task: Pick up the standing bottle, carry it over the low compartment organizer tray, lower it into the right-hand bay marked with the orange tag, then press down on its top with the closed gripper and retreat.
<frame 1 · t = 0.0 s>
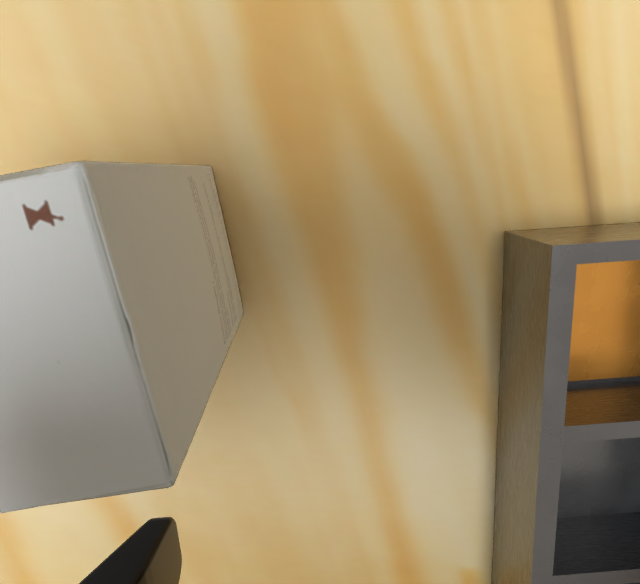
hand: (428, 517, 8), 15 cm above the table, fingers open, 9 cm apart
supplement box: (154, 256, 22), on the table
compartment organizer tray: (579, 450, 25), on the table
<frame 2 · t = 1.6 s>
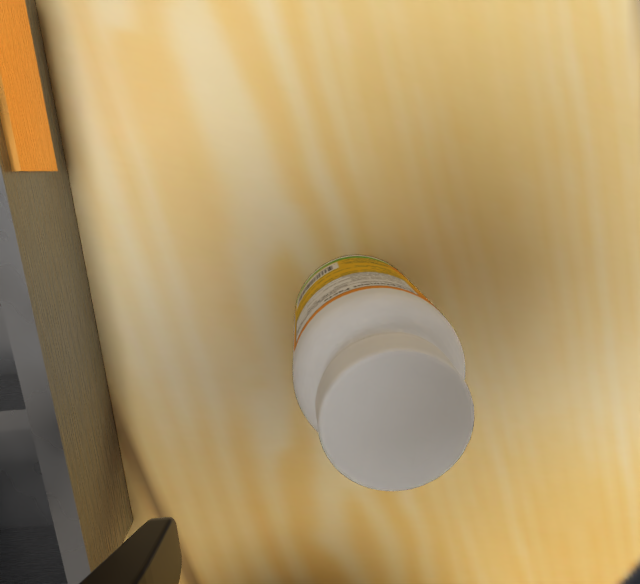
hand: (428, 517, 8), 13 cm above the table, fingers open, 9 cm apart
supplement bottle: (354, 310, 21), on the table
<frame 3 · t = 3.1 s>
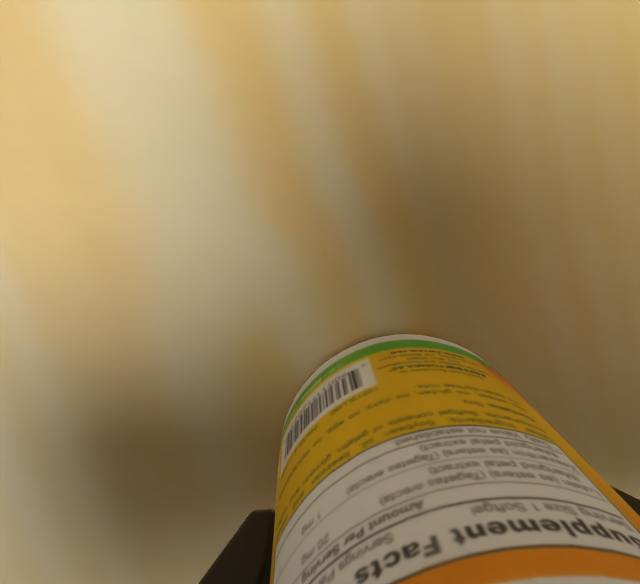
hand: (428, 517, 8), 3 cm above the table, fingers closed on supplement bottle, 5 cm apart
supplement bottle: (396, 433, 11), on the table, touching gripper
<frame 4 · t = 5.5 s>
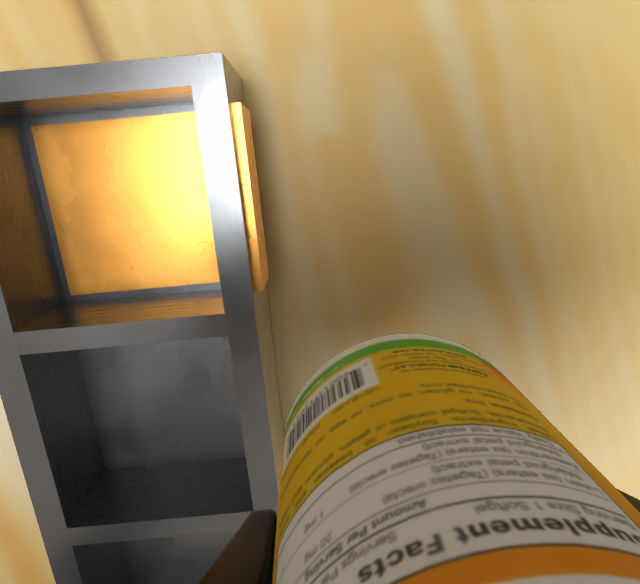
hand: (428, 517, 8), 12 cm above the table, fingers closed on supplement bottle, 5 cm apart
compartment organizer tray: (175, 383, 21), on the table
supplement bottle: (398, 433, 11), point 9 cm above the table, touching gripper
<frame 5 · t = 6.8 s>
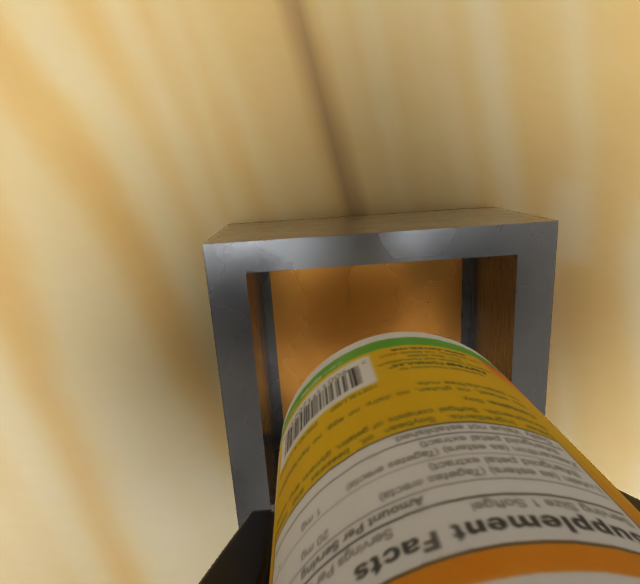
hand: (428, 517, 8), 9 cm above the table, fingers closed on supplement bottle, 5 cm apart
compartment organizer tray: (372, 514, 19), on the table
supplement bottle: (396, 431, 11), point 6 cm above the table, touching gripper
when the fingers open (5 cm above the table, at t = 7.9 s): supplement bottle drops 2 cm, resting on compartment organizer tray.
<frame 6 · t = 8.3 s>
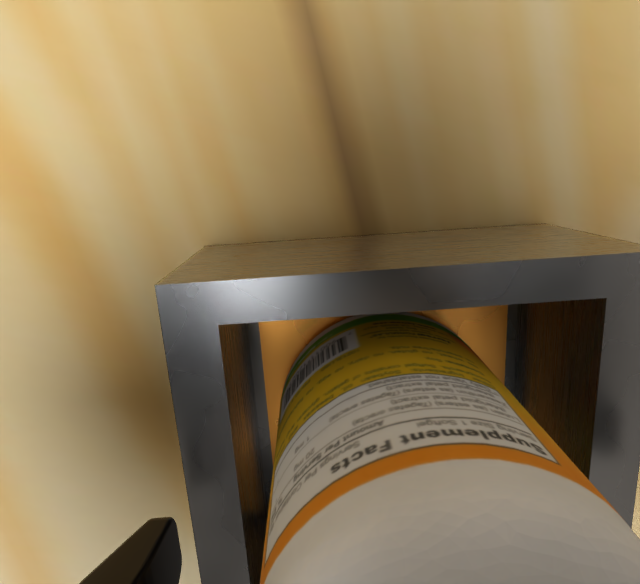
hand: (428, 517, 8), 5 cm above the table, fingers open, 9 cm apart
supplement bottle: (381, 397, 13), point 1 cm above the table, touching compartment organizer tray
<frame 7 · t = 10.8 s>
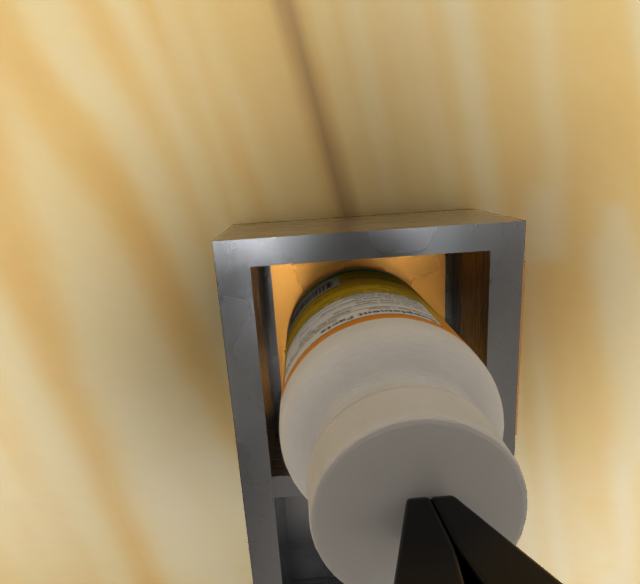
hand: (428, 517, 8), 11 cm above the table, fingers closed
compartment organizer tray: (365, 493, 21), on the table
supplement bottle: (357, 332, 18), point 1 cm above the table, touching compartment organizer tray
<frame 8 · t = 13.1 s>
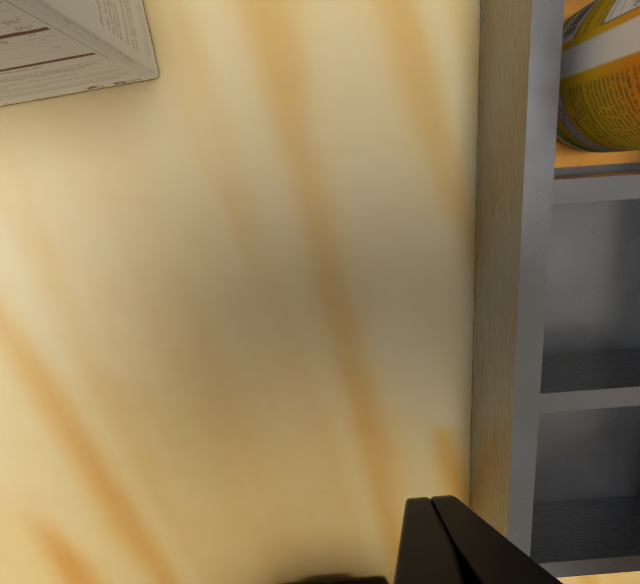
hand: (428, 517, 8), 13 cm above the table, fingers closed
compartment organizer tray: (574, 272, 21), on the table
supplement bottle: (596, 81, 18), point 1 cm above the table, touching compartment organizer tray
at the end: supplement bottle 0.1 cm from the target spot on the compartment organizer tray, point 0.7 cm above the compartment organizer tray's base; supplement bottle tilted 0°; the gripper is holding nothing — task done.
